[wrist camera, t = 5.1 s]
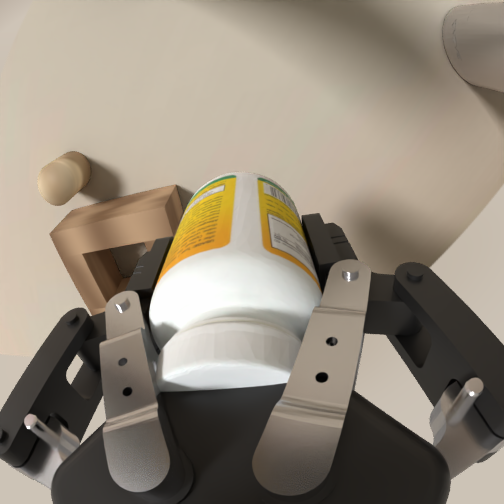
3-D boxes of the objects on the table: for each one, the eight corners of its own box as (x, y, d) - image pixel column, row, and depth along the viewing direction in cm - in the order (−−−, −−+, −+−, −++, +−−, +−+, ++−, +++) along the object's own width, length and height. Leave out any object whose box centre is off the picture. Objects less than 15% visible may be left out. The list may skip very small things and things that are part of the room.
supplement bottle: (306, 176, 14) (387, 345, 5) (285, 272, 16) (313, 448, 8) (186, 163, 13) (102, 324, 5) (183, 263, 16) (143, 438, 8)
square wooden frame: (175, 184, 28) (164, 206, 23) (205, 286, 34) (201, 317, 30) (71, 210, 28) (49, 234, 24) (112, 298, 35) (99, 327, 30)
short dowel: (84, 146, 25) (64, 158, 21) (96, 183, 27) (78, 200, 24) (53, 158, 25) (32, 171, 22) (65, 193, 27) (46, 209, 24)
